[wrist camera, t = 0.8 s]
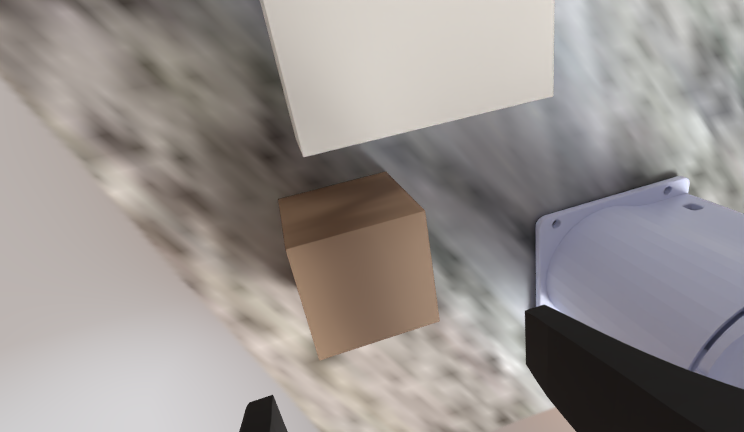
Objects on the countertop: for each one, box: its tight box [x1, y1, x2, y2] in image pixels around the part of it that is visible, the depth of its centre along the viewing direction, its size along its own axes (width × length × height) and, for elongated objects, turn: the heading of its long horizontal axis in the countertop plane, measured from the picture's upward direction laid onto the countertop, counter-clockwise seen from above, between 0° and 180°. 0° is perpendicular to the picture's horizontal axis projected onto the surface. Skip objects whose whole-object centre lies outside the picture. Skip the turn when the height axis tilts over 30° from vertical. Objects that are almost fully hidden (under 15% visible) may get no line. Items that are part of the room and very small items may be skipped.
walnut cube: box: [278, 172, 440, 360], centre depth 17 cm, size 5×5×5 cm
